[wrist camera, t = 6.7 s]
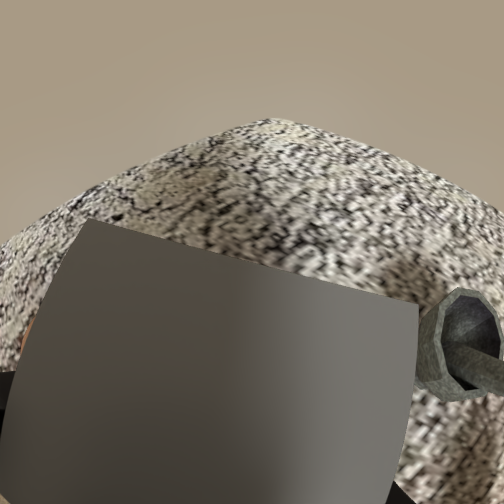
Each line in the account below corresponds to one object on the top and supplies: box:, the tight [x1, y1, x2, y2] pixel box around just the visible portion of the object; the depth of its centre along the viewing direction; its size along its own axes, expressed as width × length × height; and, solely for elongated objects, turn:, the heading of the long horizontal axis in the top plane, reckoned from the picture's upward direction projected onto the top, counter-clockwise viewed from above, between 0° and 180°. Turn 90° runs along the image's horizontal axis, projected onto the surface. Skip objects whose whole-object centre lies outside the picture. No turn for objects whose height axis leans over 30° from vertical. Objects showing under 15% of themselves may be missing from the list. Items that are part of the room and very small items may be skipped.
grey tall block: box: [0, 218, 419, 504], centre depth 7 cm, size 6×6×11 cm
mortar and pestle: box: [414, 287, 504, 402], centre depth 16 cm, size 11×9×12 cm
